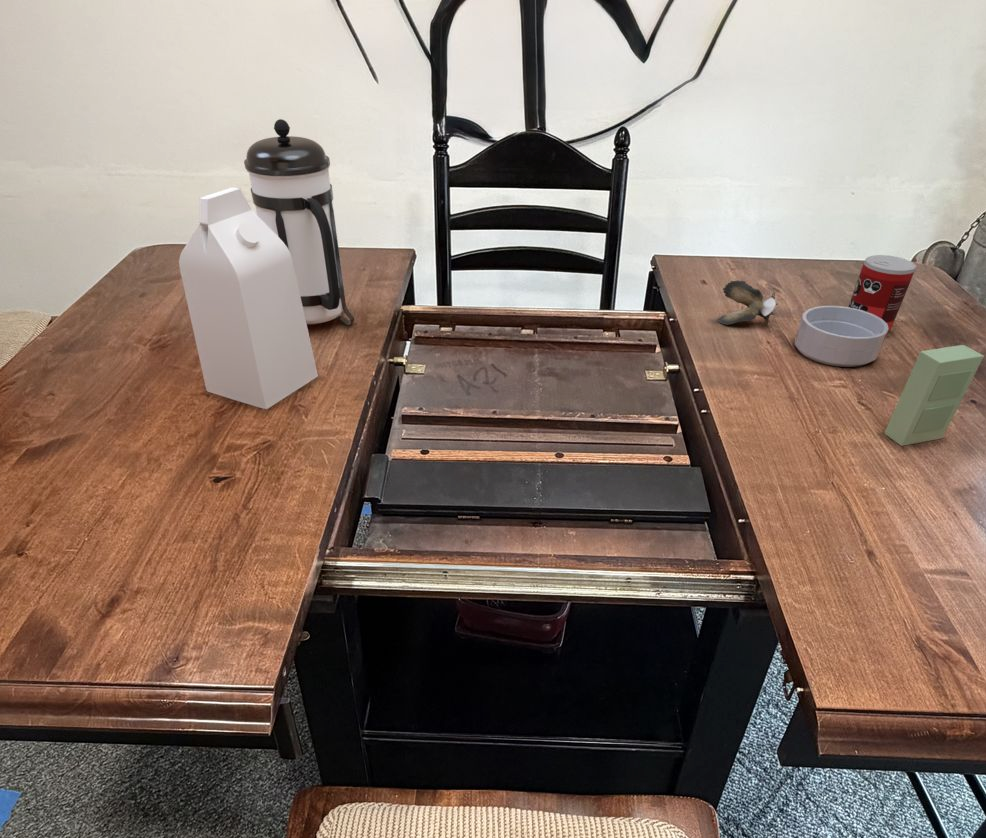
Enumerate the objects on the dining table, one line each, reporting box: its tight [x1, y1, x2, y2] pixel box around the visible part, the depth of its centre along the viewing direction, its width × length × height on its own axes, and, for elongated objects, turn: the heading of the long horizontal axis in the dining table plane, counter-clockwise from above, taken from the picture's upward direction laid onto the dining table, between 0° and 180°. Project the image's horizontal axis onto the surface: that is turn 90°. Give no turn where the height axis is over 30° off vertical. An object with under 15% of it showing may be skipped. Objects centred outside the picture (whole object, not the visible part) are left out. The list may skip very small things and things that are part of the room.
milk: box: [178, 186, 319, 410], centre depth 99 cm, size 12×12×26 cm
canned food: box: [847, 254, 917, 334], centre depth 122 cm, size 8×8×11 cm
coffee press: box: [243, 118, 355, 327], centre depth 115 cm, size 17×16×30 cm
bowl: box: [794, 305, 890, 368], centre depth 117 cm, size 13×13×5 cm
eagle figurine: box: [716, 279, 779, 325], centre depth 125 cm, size 8×7×9 cm
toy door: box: [883, 344, 985, 447], centre depth 95 cm, size 4×7×12 cm, turn 108°
